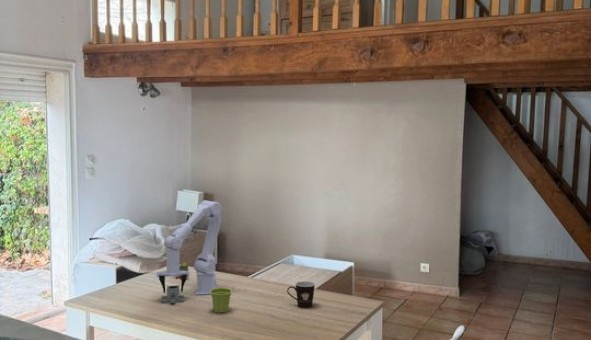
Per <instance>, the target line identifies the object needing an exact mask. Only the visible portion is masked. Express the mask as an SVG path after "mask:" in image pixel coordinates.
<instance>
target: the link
mask: <svg viewBox="0 0 591 340" xmlns="http://www.w3.org/2000/svg"><path fill="white" fill-rule="evenodd" d="M179 295H180V285H167V287H166V296H167V300H171V303H173V304H175V303H176V302H175V300H179ZM171 303H170V304H171Z"/></svg>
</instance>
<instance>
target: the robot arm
mask: <svg viewBox="0 0 591 340" xmlns="http://www.w3.org/2000/svg"><path fill="white" fill-rule="evenodd" d="M196 208H197V209H195V211H194V212H193V214H192V215H191V216H190V217H189V219H188V220H187V221H186V222H185V223H181V224H179V225H178V227H177V228H176V230H175V231H174V232H172V233H171V235H169V236H167V237H166V238H165V241H164V242H163V245H164V247H165V251H166V270H164V271H156V278H158V279H159V282H160V285H161V288H162V291H163V294H166V277H176V276H178V277H180V279H181V280H180V281H181V283H180V284H181V285H180V293H183V291H184V287H185V283H186V281H187V280H188V279H187V278H188V277H189V276H190V270H188V271H180V266H181V263H180V256H181V255H180V252H181V251H180V250H181V248H182V247H183V243H184V241H185V240H186V238H187V237H188V236H189V235H190V234H191V232H192V228H193V227H194V226H195V225H196V224H197V223H198V222H199V221H200V220H202V218H203V217H204V218H205V217H206V219H207V220H208V222H209V223H208V227H207V230H206V233H205V238H204V242H203V246H202V251H201V253H199V254H198V255H197V256H196V257H197V258H196V260H195V261H194V264H193V269H194V270H195V271H196V272H195V273H196V289H195V295H198V296H199V295H211V293H210V291H211V290H212V289H216V288H218V285H217V273H215V270H216V257H215V256H214V252H215V248H216V244H217V241H218V240H217V239H218V236H219V232H220V227H221V223H222V211H223V207H222V205H221V204H220V202H218V201H211V200H206V199H204V200H202V201H201V202H200V203H199V204H198V205H197V207H196Z"/></svg>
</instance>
